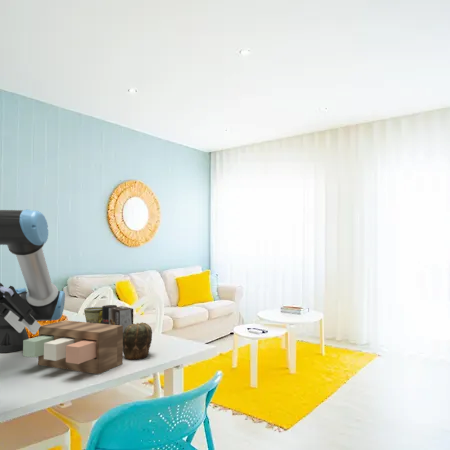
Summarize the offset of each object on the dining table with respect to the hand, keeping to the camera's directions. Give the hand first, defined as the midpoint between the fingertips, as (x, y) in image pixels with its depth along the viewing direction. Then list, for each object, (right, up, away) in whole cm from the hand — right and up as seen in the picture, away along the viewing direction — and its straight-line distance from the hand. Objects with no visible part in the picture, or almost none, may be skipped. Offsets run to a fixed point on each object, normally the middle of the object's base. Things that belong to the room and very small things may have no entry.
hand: (29, 329), depth 108 cm
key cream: (0, -14, +21) cm, 26 cm away
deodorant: (+4, -22, +62) cm, 66 cm away
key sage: (-9, -14, +25) cm, 30 cm away
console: (+3, -20, +30) cm, 36 cm away
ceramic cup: (-10, -23, +87) cm, 90 cm away
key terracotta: (+8, -14, +18) cm, 24 cm away
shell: (+20, -20, +40) cm, 49 cm away
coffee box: (+12, -21, +50) cm, 55 cm away
